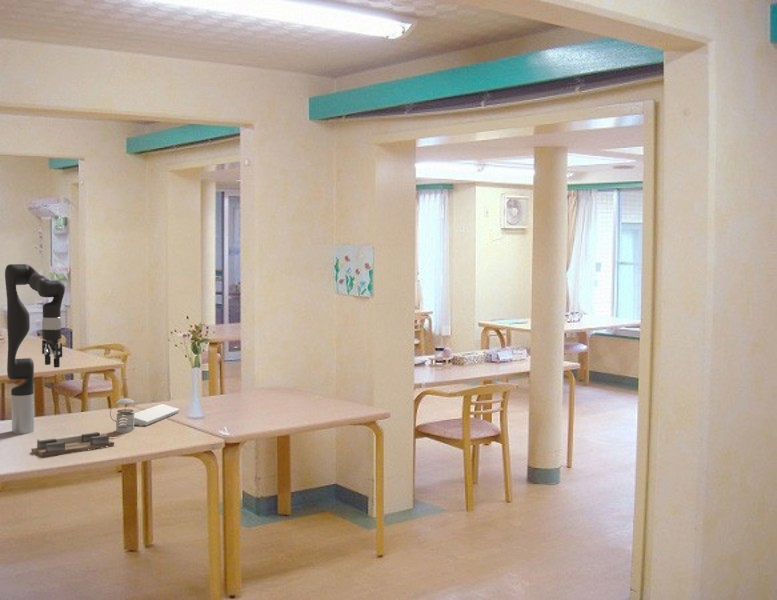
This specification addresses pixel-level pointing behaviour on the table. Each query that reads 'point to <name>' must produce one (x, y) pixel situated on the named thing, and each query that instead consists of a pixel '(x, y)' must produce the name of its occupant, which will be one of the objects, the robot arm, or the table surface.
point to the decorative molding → (153, 414)
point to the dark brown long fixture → (71, 445)
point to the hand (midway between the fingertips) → (52, 366)
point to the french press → (124, 412)
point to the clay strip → (66, 438)
